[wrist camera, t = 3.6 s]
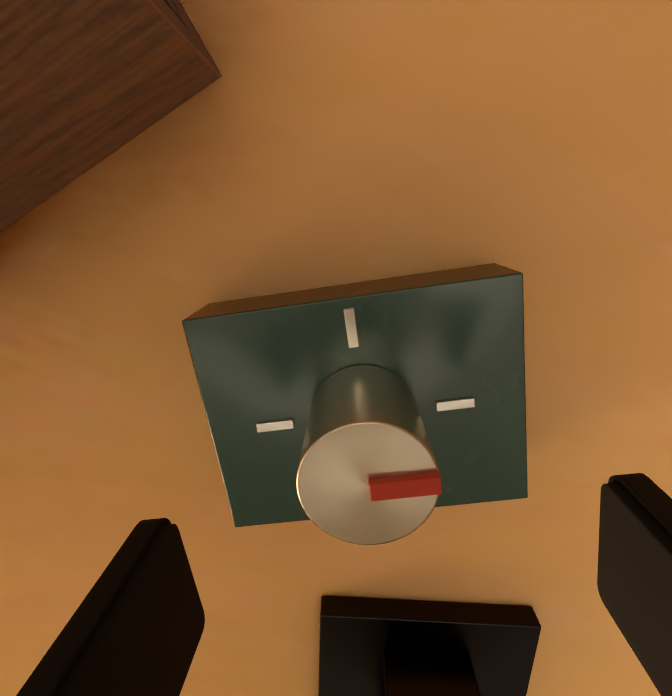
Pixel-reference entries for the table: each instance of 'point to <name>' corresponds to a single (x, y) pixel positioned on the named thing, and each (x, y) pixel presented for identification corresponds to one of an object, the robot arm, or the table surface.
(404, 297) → the dial panel
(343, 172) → the table surface
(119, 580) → the robot arm
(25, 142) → the tissue box cover
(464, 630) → the black lever stand
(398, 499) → the knob
